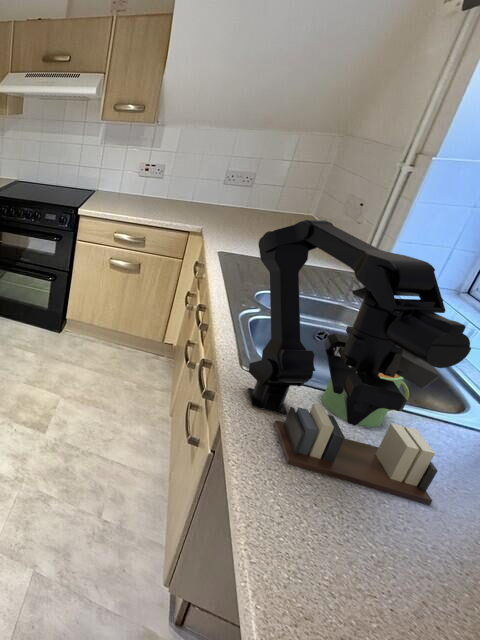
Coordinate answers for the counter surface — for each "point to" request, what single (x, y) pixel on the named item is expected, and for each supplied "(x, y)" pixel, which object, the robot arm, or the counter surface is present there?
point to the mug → (375, 419)
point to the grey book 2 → (333, 442)
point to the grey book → (306, 429)
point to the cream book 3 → (418, 458)
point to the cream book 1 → (320, 430)
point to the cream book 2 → (397, 452)
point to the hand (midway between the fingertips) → (343, 407)
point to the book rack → (350, 463)
